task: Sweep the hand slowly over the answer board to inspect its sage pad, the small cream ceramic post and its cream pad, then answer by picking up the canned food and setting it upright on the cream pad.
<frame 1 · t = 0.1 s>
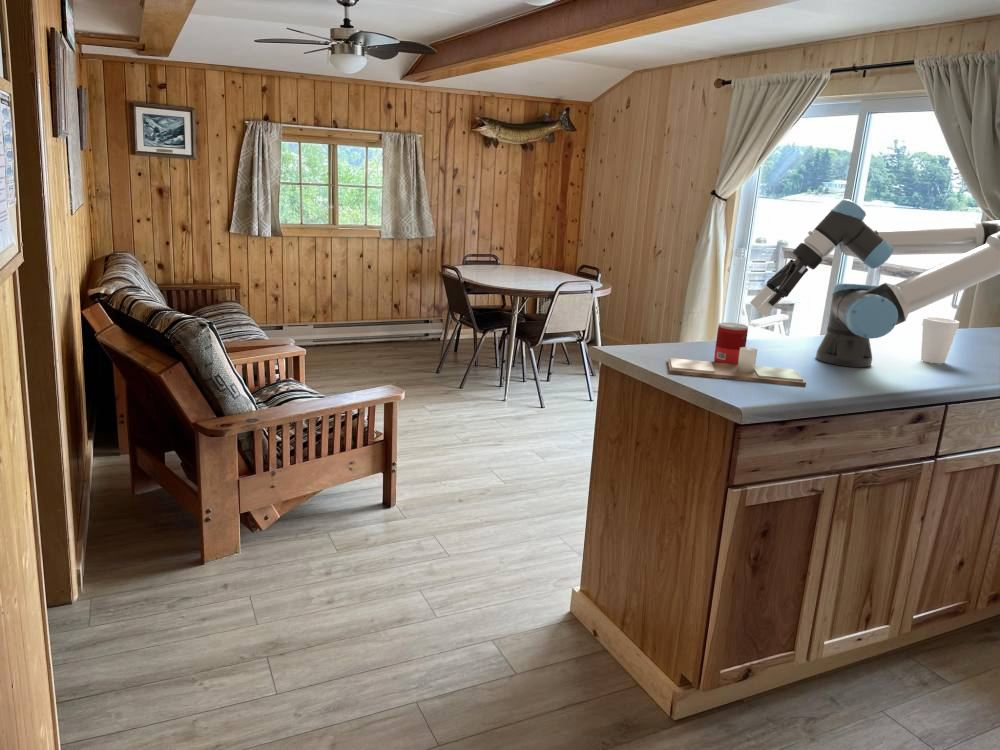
hand: (756, 309, 209), 15 cm above the table, tool tilted 35°, fingers open, 13 cm apart
ceramic post: (745, 374, 198), resting on answer board
foam cup: (932, 362, 228), on the table
canned food: (728, 364, 210), on the table
answer board: (733, 373, 199), on the table
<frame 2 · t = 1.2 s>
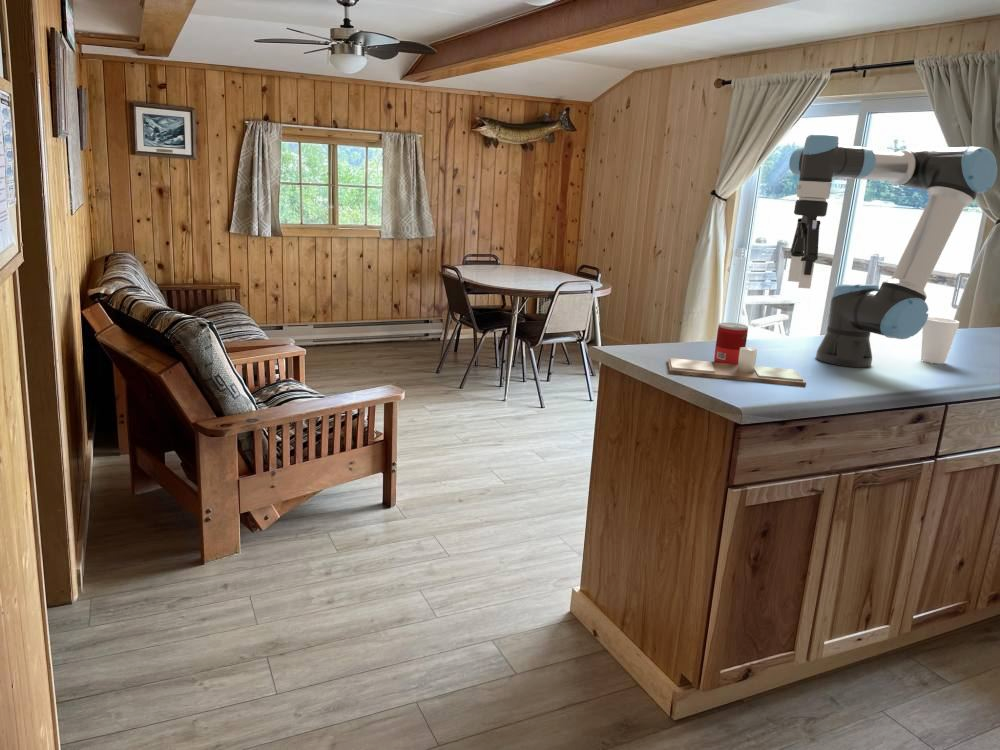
hand: (798, 284, 191), 25 cm above the table, tool pointing down, fingers open, 13 cm apart
nothing on the table moved.
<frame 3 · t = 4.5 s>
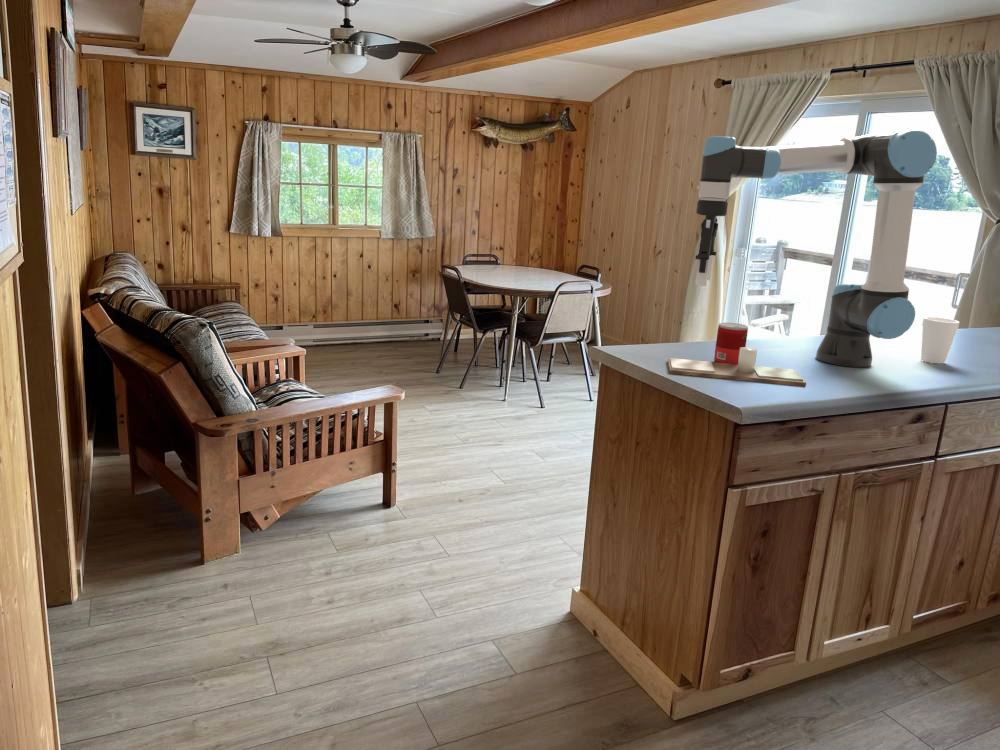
hand: (702, 282, 196), 23 cm above the table, tool pointing down, fingers open, 13 cm apart
nothing on the table moved.
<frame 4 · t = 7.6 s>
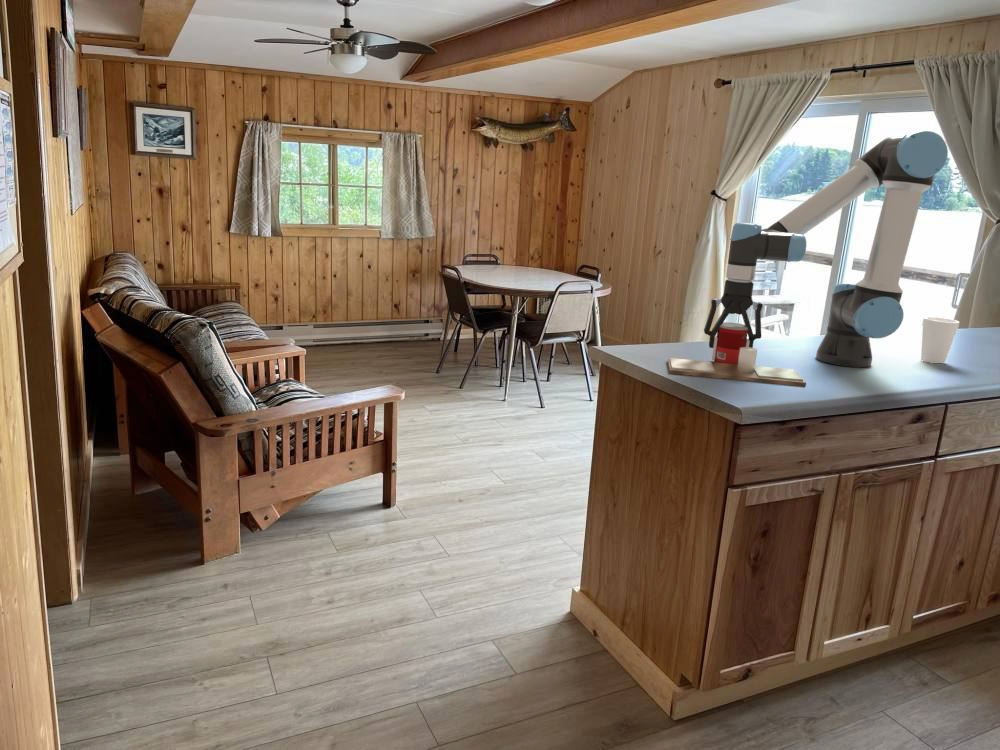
hand: (728, 360, 210), 1 cm above the table, tool pointing down, fingers closed on canned food, 8 cm apart
canned food: (728, 363, 210), on the table, touching gripper
everything else where it was.
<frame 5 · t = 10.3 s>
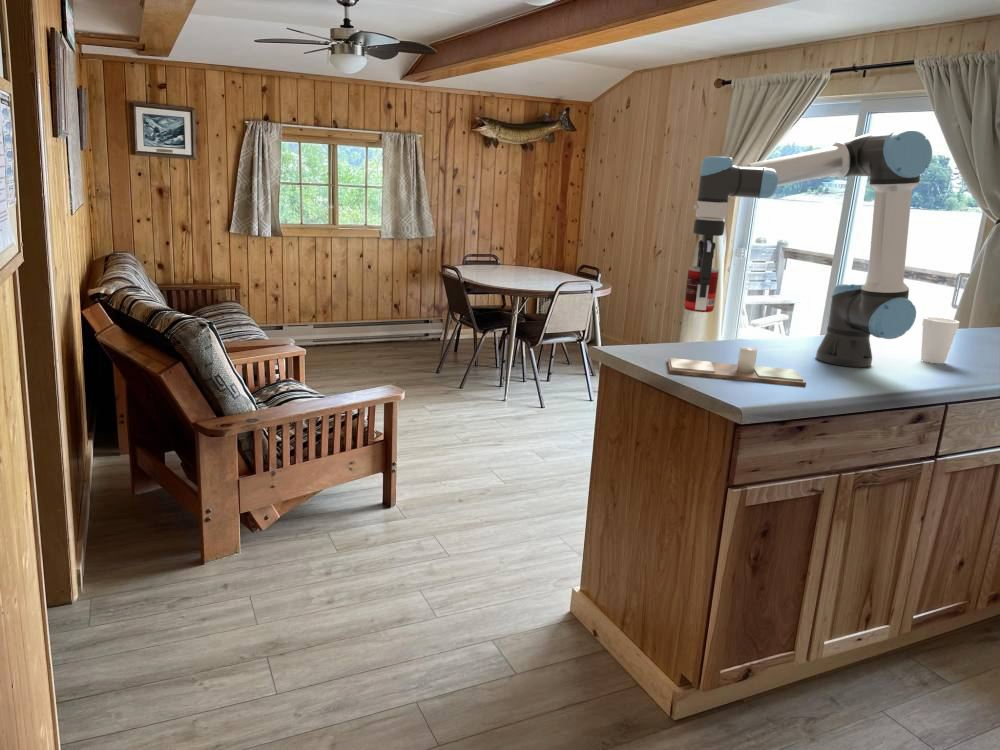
hand: (699, 307, 196), 17 cm above the table, tool pointing down, fingers closed on canned food, 8 cm apart
canned food: (698, 310, 197), point 16 cm above the table, touching gripper
everything else where it was.
when the fingers open (4 cm above the table, at t = 13.1 s): canned food drops 1 cm, resting on answer board.
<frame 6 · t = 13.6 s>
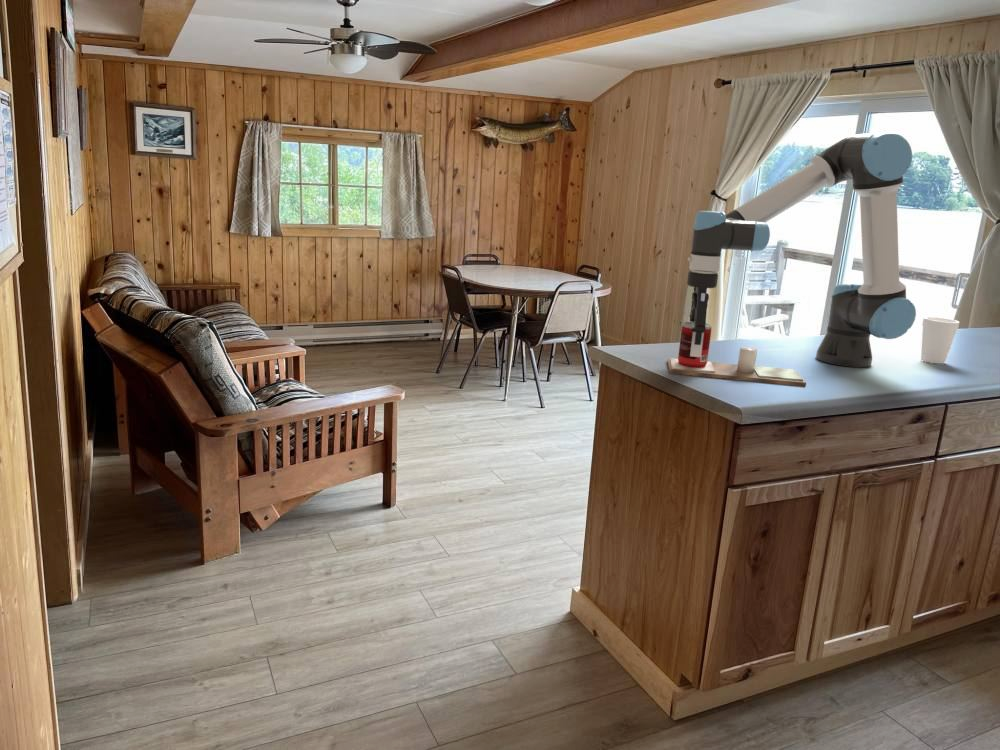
hand: (693, 351, 199), 5 cm above the table, tool pointing down, fingers open, 13 cm apart
canned food: (691, 365, 200), point 1 cm above the table, touching answer board
everything else where it was.
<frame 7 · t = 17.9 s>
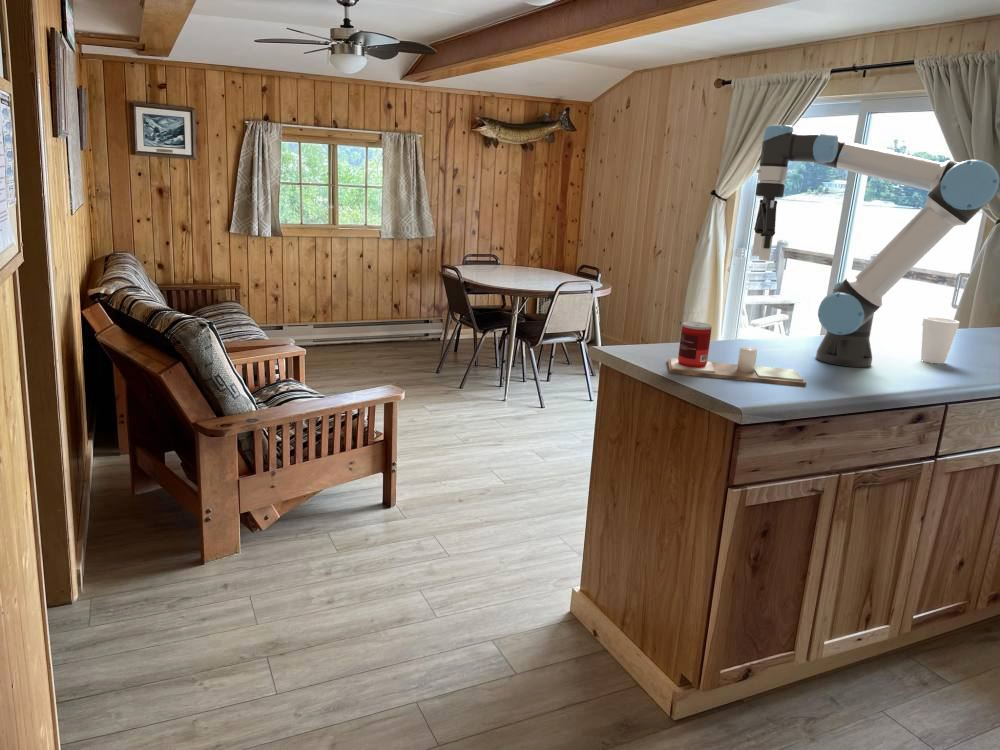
hand: (760, 258, 216), 29 cm above the table, tool pointing down, fingers open, 13 cm apart
nothing on the table moved.
at the end: canned food inside the target area on the answer board (0.0 cm from its centre), point 1.2 cm above the answer board's base; canned food tilted 0°; the gripper is holding nothing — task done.
